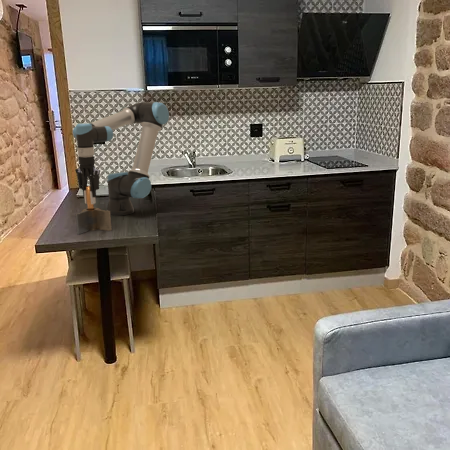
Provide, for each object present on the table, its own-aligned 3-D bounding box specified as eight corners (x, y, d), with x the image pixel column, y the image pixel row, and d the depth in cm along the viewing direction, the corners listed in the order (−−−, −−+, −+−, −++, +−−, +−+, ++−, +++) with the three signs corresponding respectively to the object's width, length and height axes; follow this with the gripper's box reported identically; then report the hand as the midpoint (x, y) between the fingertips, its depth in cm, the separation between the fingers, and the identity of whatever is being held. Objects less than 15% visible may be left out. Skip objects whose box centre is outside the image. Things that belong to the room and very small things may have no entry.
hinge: (91, 226, 242) (89, 207, 239) (114, 229, 237) (113, 209, 234) (73, 233, 229) (71, 213, 227) (97, 236, 224) (95, 216, 221)
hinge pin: (91, 222, 239) (88, 185, 234) (96, 223, 238) (93, 186, 233) (87, 223, 237) (84, 186, 231) (92, 224, 235) (89, 187, 230)
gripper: (67, 156, 228) (72, 203, 234) (95, 157, 222) (98, 206, 228) (78, 154, 234) (82, 200, 241) (104, 155, 229) (108, 202, 235)
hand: (90, 203), depth 235 cm, fingers closed on hinge pin, 3 cm apart
